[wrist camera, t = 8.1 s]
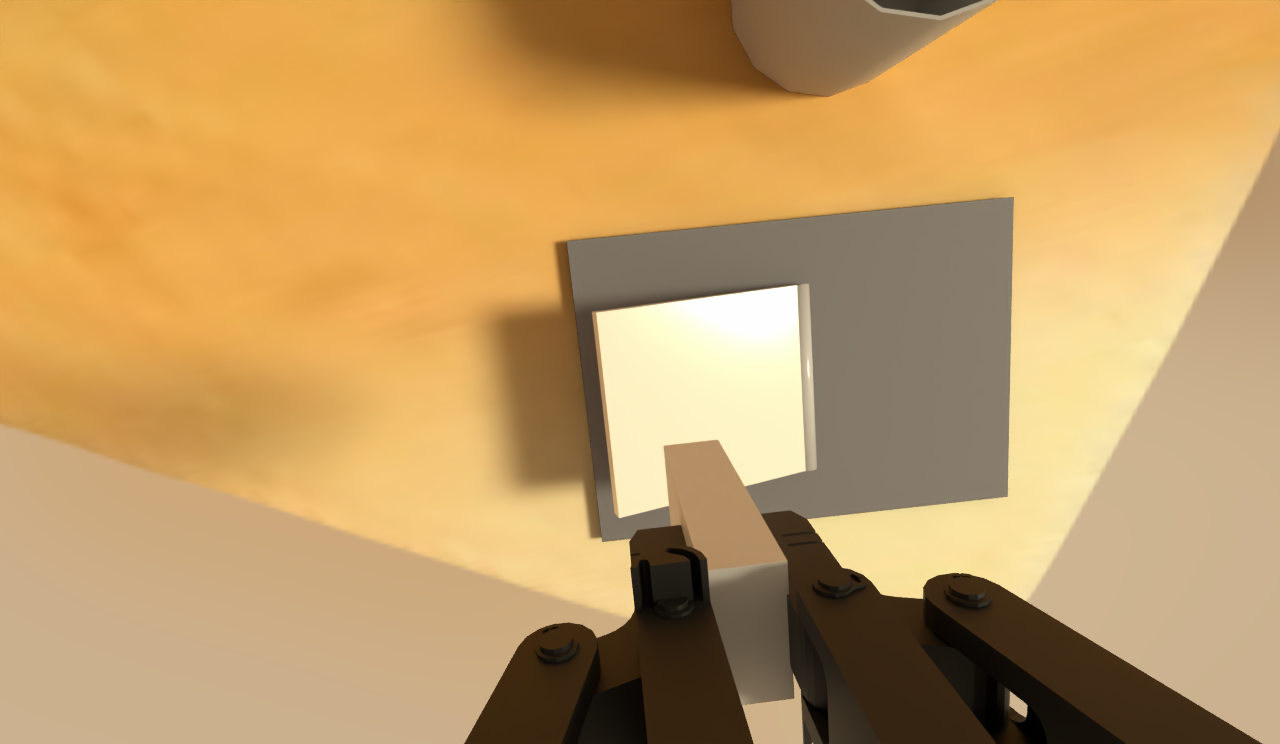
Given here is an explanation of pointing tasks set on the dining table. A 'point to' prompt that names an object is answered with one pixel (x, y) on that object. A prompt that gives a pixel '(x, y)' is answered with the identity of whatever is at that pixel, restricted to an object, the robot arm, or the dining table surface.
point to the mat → (845, 346)
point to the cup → (840, 37)
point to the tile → (706, 387)
